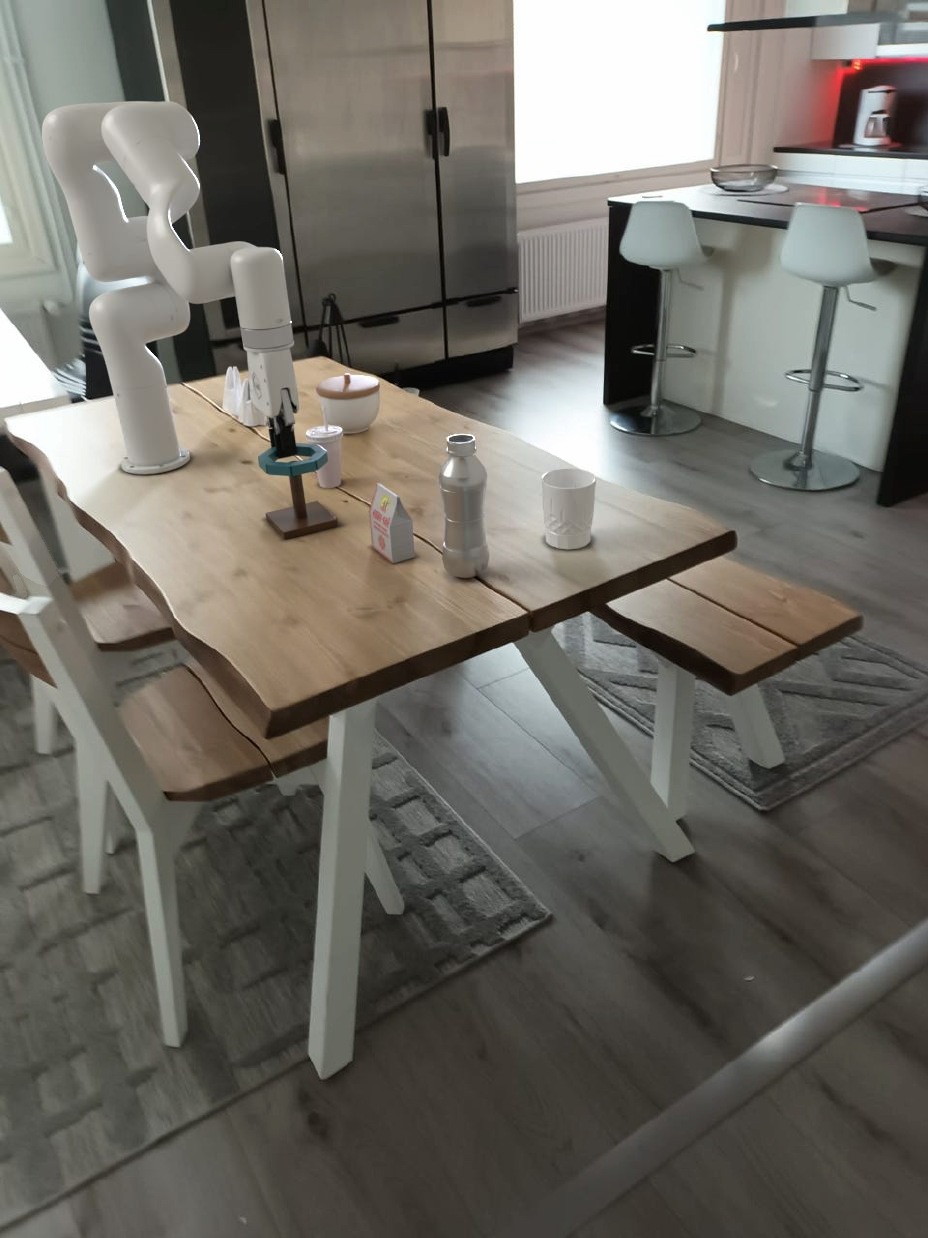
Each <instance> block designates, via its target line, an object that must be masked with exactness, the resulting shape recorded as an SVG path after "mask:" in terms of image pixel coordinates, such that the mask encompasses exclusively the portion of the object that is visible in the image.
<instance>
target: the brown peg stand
mask: <svg viewBox="0 0 928 1238" xmlns="http://www.w3.org/2000/svg"><path fill="white" fill-rule="evenodd" d="M296 461H297V460H291V461H288V462H289V463H292V462H296ZM288 481H289V487H290V494H291V501H292V506H289V507H288V506H287V507H284V508H279V509H276V510H272V511H267V512H265V519H266V521H267V522H268V523H269V524H270V525H271V526H272V528H273V529H275V531H276V532H277V533H278V534H279V535H280V536H281V537H282V538H283V539H284V540H288V539H291V538H295V537H299V536H303V535H307V534H312V533H315V532H319V531H324V530H328V529H331V528H336V527H339V524H338V523H339V522H338V518H337V517H335V516H334V514H332V513H331V512H330V511H329V510H328V509H327V508H326V507H324V506H323V504H322V503H320V502H319V501H318V500H314V501H309V502H306V496H305V489H304V482H303V474H300V475H296V476H288Z"/></svg>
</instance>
